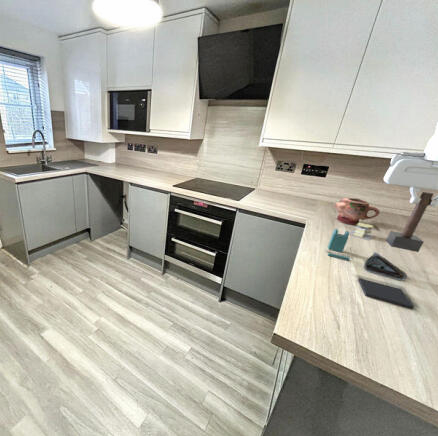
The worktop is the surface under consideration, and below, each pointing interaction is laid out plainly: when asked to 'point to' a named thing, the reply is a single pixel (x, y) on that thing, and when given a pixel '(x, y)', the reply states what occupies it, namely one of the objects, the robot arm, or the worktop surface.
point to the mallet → (411, 227)
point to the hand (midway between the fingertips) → (422, 204)
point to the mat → (385, 293)
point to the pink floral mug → (353, 210)
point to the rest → (338, 244)
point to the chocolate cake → (384, 267)
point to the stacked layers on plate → (362, 231)
